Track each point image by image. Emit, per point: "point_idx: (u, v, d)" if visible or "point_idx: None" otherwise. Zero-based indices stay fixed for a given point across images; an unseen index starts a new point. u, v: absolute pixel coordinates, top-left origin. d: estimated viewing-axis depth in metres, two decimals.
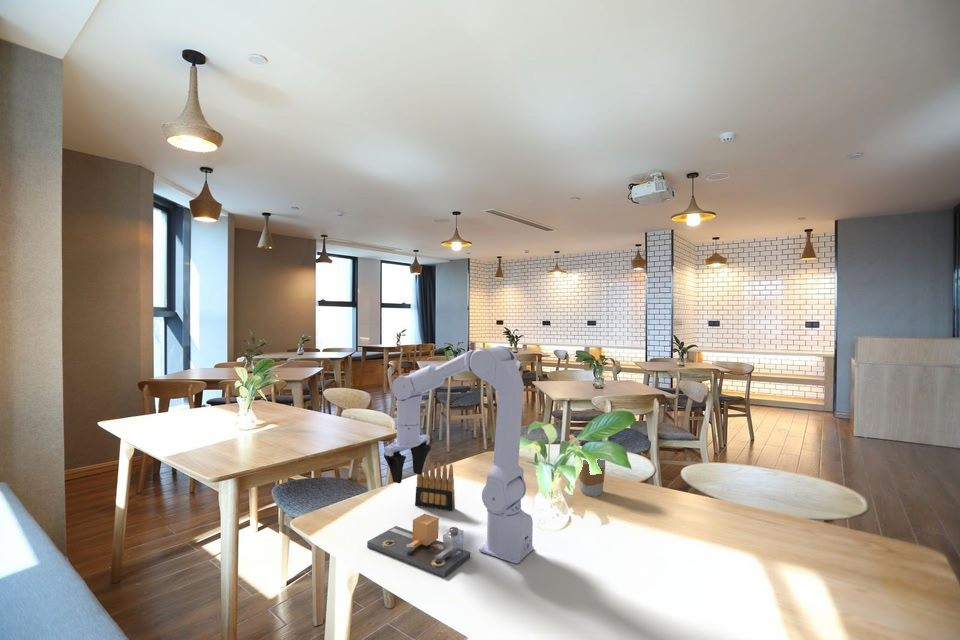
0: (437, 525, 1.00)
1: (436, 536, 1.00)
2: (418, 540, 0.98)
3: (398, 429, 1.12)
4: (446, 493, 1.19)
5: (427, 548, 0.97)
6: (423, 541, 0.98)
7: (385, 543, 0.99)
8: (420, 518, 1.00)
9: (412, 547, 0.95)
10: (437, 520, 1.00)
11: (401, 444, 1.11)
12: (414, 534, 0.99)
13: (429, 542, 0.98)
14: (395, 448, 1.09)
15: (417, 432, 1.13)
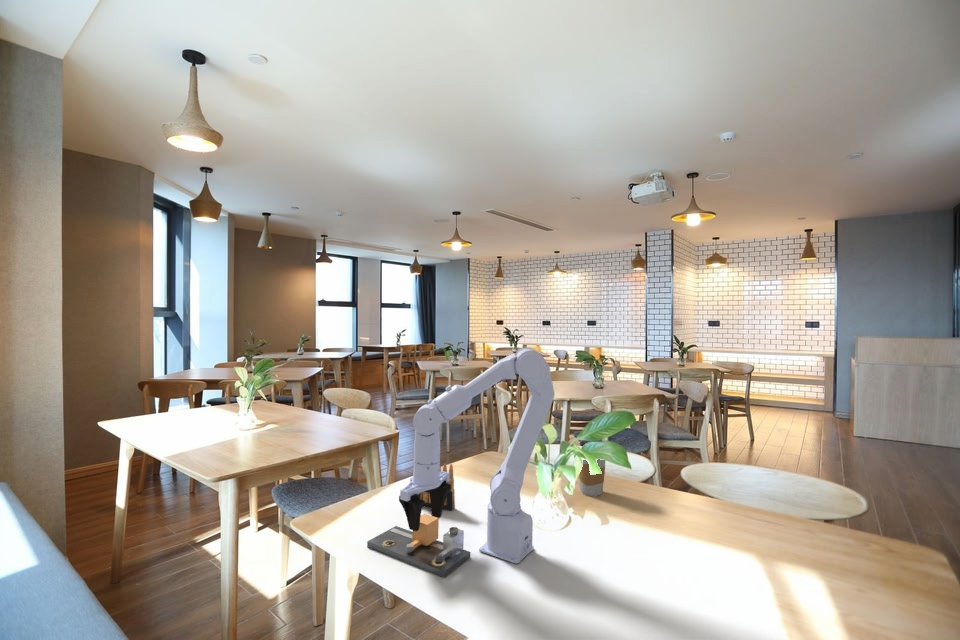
0: (437, 525, 1.00)
1: (436, 536, 1.00)
2: (418, 540, 0.98)
3: (415, 468, 0.98)
4: None
5: (427, 548, 0.97)
6: (423, 541, 0.98)
7: (385, 543, 0.99)
8: (420, 518, 1.00)
9: (412, 547, 0.95)
10: (437, 520, 1.00)
11: (419, 486, 0.97)
12: (414, 534, 0.99)
13: (429, 542, 0.98)
14: (412, 491, 0.94)
15: (437, 471, 0.98)
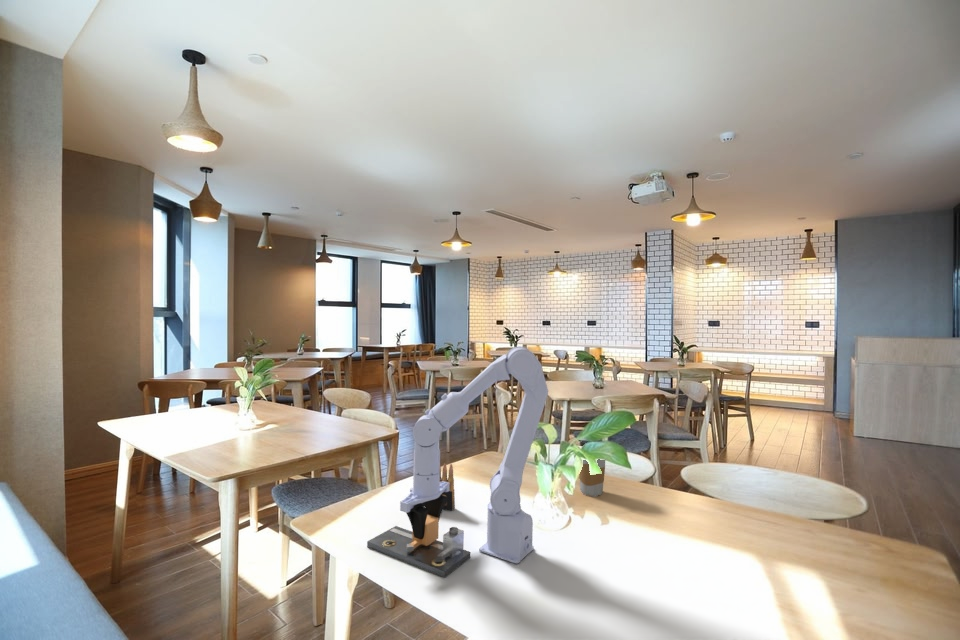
0: (437, 525, 1.00)
1: (436, 536, 1.00)
2: (418, 540, 0.98)
3: (415, 479, 0.98)
4: (446, 493, 1.19)
5: (427, 548, 0.97)
6: (423, 541, 0.98)
7: (385, 543, 0.99)
8: None
9: (412, 547, 0.95)
10: (437, 520, 1.00)
11: (419, 497, 0.97)
12: None
13: (429, 542, 0.98)
14: (412, 503, 0.94)
15: (437, 482, 0.98)
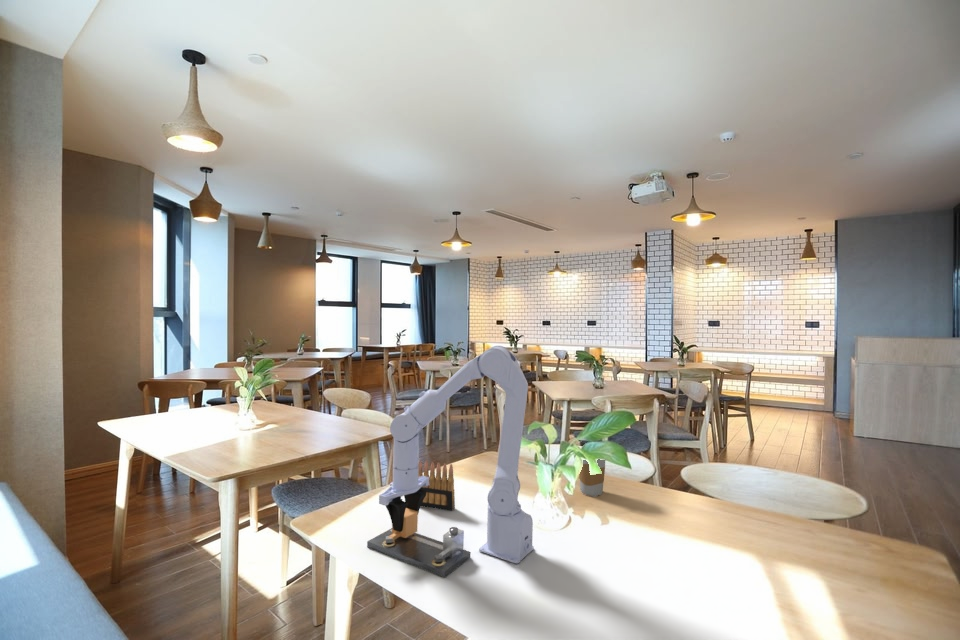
0: (416, 518, 1.04)
1: (415, 529, 1.03)
2: (397, 532, 1.01)
3: (394, 473, 1.01)
4: (446, 493, 1.19)
5: (427, 548, 0.97)
6: (402, 533, 1.01)
7: (385, 543, 0.99)
8: None
9: (391, 539, 0.98)
10: (416, 513, 1.03)
11: (398, 490, 1.00)
12: None
13: (408, 534, 1.01)
14: (391, 496, 0.98)
15: (415, 476, 1.02)
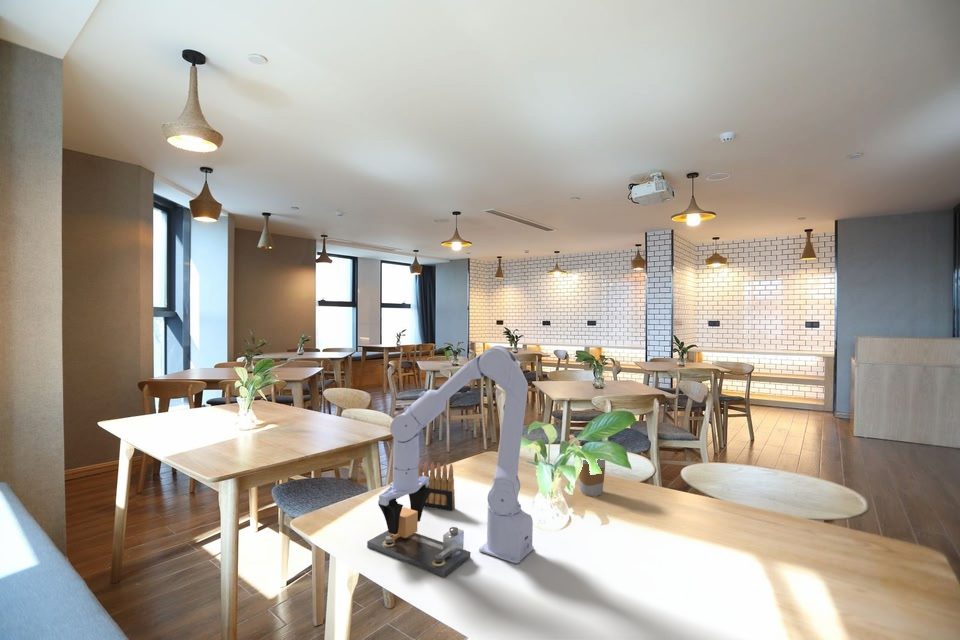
0: (416, 518, 1.04)
1: (415, 529, 1.03)
2: None
3: (394, 473, 1.01)
4: (446, 493, 1.19)
5: (427, 548, 0.97)
6: (401, 533, 1.01)
7: (385, 543, 0.99)
8: None
9: (391, 539, 0.98)
10: (416, 513, 1.03)
11: (398, 490, 1.00)
12: None
13: (408, 534, 1.01)
14: (391, 496, 0.98)
15: (415, 476, 1.02)
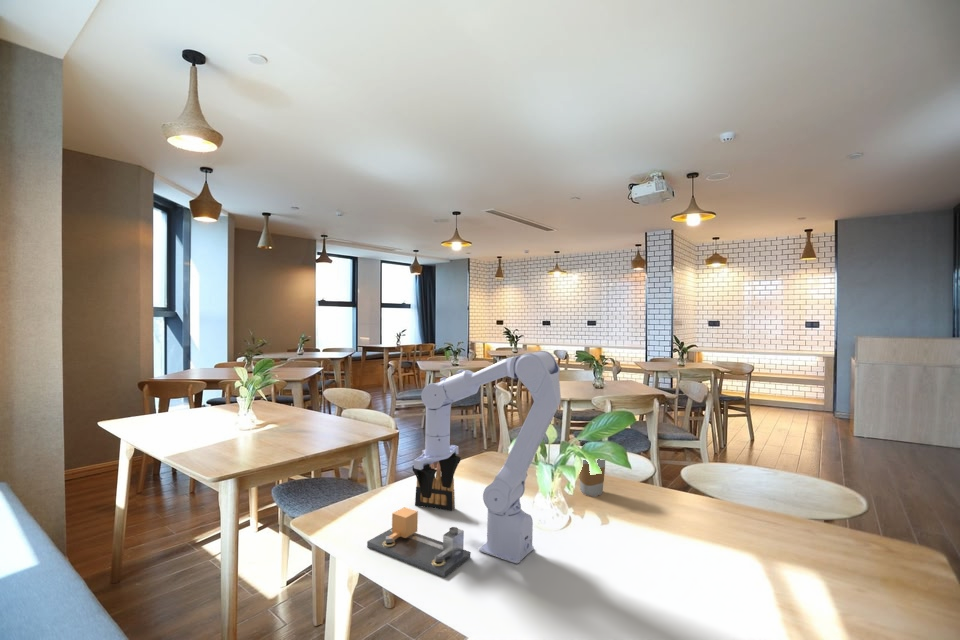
0: (416, 518, 1.04)
1: (415, 529, 1.03)
2: (397, 532, 1.01)
3: (427, 440, 1.05)
4: (446, 493, 1.19)
5: (427, 548, 0.97)
6: (401, 533, 1.01)
7: (385, 543, 0.99)
8: (400, 511, 1.04)
9: (391, 539, 0.98)
10: (416, 513, 1.03)
11: (431, 456, 1.04)
12: (393, 527, 1.02)
13: (408, 534, 1.01)
14: (425, 461, 1.02)
15: (447, 443, 1.06)
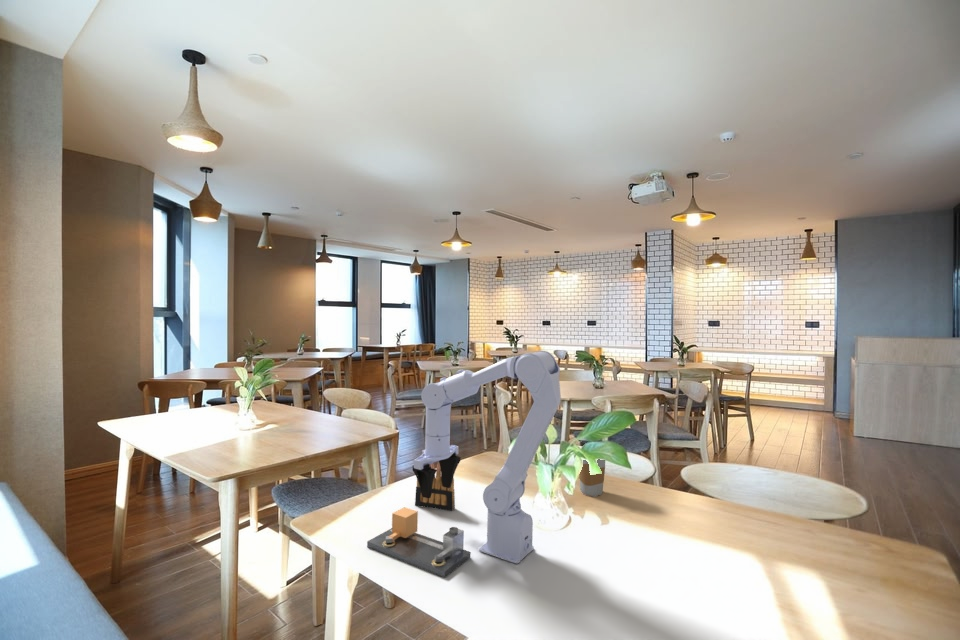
0: (416, 518, 1.04)
1: (415, 529, 1.03)
2: (397, 532, 1.01)
3: (427, 440, 1.05)
4: (446, 493, 1.19)
5: (427, 548, 0.97)
6: (401, 533, 1.01)
7: (385, 543, 0.99)
8: (400, 511, 1.04)
9: (391, 539, 0.98)
10: (416, 513, 1.03)
11: (431, 456, 1.04)
12: (393, 527, 1.02)
13: (408, 534, 1.01)
14: (425, 461, 1.02)
15: (447, 443, 1.06)
